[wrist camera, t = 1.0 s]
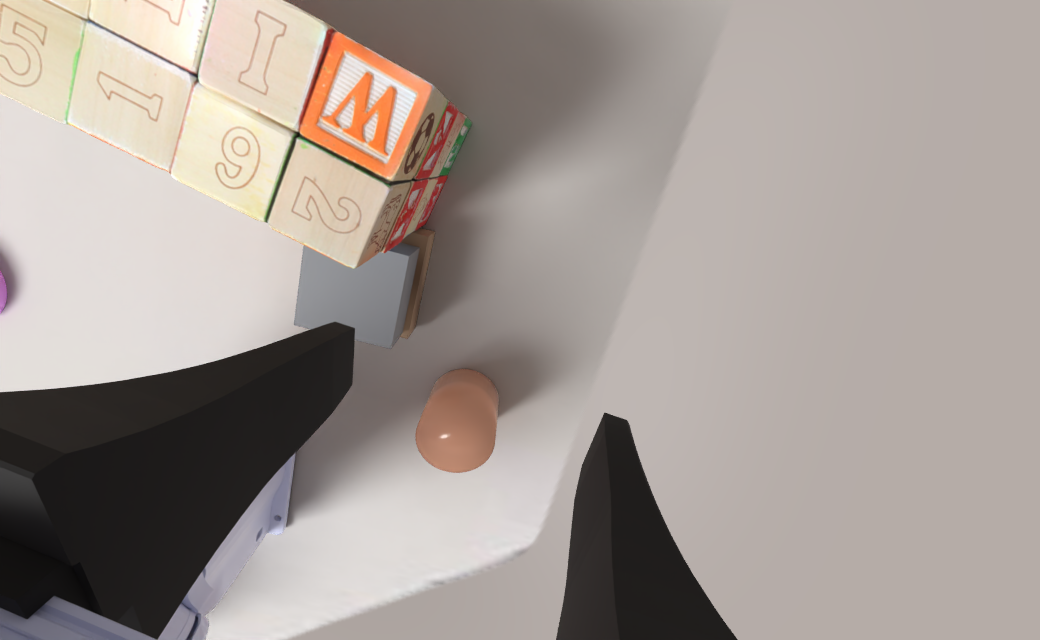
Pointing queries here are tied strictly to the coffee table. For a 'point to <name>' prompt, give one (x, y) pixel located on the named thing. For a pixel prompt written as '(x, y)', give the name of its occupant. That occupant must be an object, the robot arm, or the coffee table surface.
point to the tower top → (358, 293)
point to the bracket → (2, 292)
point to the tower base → (417, 275)
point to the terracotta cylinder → (459, 421)
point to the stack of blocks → (244, 110)
